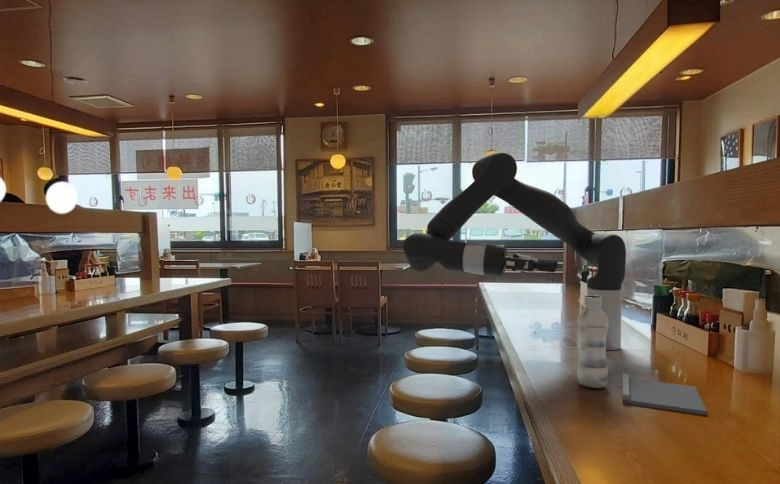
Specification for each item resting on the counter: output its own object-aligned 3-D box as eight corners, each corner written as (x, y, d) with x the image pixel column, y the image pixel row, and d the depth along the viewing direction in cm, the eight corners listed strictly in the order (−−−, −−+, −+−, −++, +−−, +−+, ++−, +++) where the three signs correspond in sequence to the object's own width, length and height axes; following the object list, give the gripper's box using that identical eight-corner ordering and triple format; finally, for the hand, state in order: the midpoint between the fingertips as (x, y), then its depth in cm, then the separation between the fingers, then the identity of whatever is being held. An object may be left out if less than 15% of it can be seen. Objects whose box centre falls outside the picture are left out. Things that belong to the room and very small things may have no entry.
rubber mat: (622, 381, 106) (622, 373, 106) (695, 390, 100) (695, 382, 100) (622, 403, 93) (622, 394, 93) (706, 415, 87) (706, 405, 87)
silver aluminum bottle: (606, 383, 105) (607, 295, 104) (610, 393, 98) (611, 299, 98) (575, 380, 107) (576, 293, 106) (577, 390, 101) (578, 298, 100)
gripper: (480, 243, 104) (557, 250, 98) (491, 243, 117) (559, 249, 111) (477, 276, 104) (553, 285, 98) (488, 272, 117) (556, 280, 111)
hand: (556, 266), depth 105 cm, fingers open, 8 cm apart
